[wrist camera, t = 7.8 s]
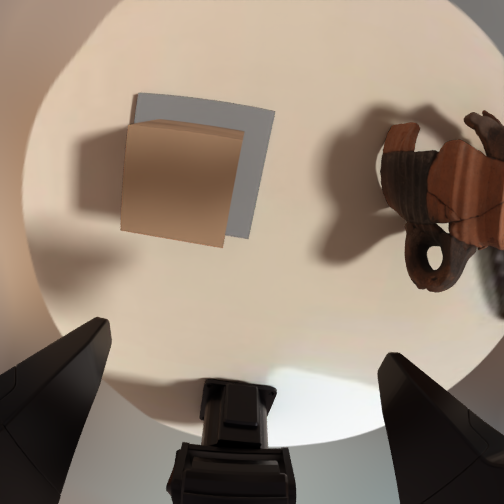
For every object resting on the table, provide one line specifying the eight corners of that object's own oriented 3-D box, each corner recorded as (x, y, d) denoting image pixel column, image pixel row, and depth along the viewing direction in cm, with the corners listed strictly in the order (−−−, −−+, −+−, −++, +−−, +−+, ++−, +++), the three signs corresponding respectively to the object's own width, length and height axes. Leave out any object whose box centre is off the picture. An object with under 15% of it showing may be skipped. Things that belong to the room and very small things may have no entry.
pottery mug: (389, 78, 16) (512, 83, 9) (445, 139, 22) (532, 156, 15) (338, 259, 18) (460, 319, 12) (407, 274, 24) (492, 314, 17)
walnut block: (229, 212, 19) (222, 248, 15) (149, 199, 19) (120, 230, 14) (244, 131, 17) (242, 140, 12) (159, 118, 16) (128, 124, 12)
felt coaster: (248, 236, 20) (248, 239, 20) (128, 216, 20) (126, 218, 19) (274, 111, 17) (275, 111, 16) (140, 92, 16) (138, 92, 16)
